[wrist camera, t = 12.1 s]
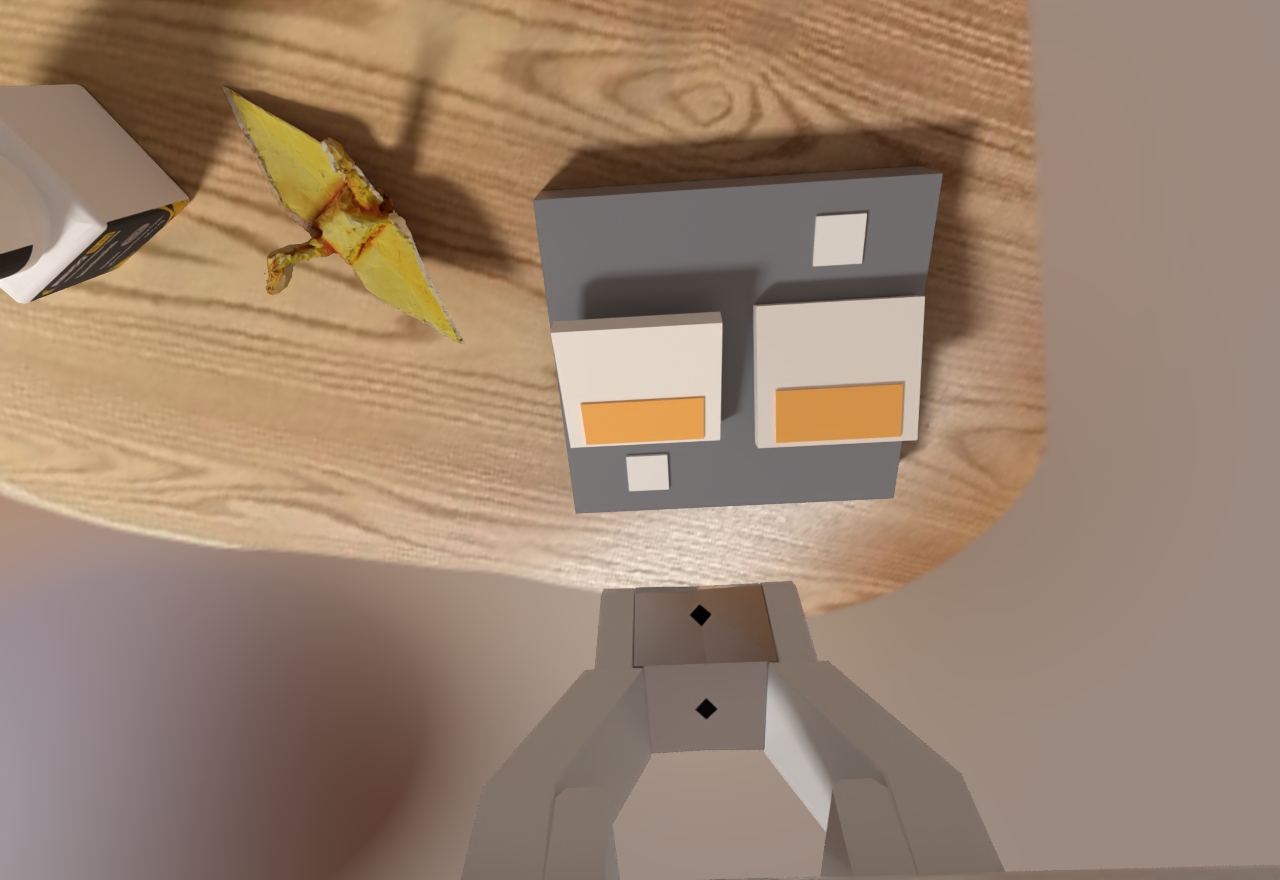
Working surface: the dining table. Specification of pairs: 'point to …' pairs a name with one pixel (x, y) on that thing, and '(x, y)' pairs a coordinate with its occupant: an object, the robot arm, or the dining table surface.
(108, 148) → the medicine bottle
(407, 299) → the origami crane
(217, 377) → the dining table surface
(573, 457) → the switch panel
